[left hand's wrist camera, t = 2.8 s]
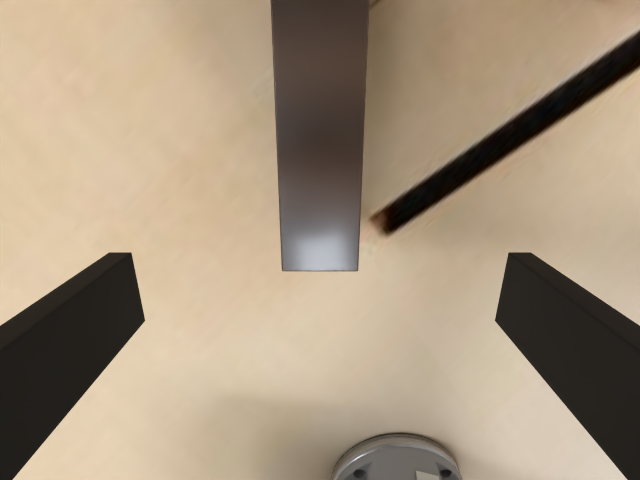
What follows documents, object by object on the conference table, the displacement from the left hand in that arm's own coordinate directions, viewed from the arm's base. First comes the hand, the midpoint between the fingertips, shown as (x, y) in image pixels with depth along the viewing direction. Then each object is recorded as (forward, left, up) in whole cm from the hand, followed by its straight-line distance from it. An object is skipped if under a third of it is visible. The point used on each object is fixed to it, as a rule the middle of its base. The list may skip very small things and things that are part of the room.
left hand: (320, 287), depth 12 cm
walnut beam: (+10, 0, -19) cm, 21 cm away
